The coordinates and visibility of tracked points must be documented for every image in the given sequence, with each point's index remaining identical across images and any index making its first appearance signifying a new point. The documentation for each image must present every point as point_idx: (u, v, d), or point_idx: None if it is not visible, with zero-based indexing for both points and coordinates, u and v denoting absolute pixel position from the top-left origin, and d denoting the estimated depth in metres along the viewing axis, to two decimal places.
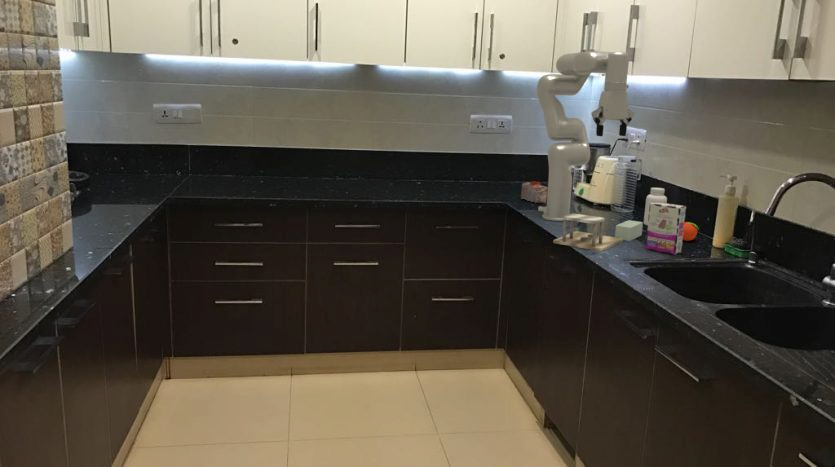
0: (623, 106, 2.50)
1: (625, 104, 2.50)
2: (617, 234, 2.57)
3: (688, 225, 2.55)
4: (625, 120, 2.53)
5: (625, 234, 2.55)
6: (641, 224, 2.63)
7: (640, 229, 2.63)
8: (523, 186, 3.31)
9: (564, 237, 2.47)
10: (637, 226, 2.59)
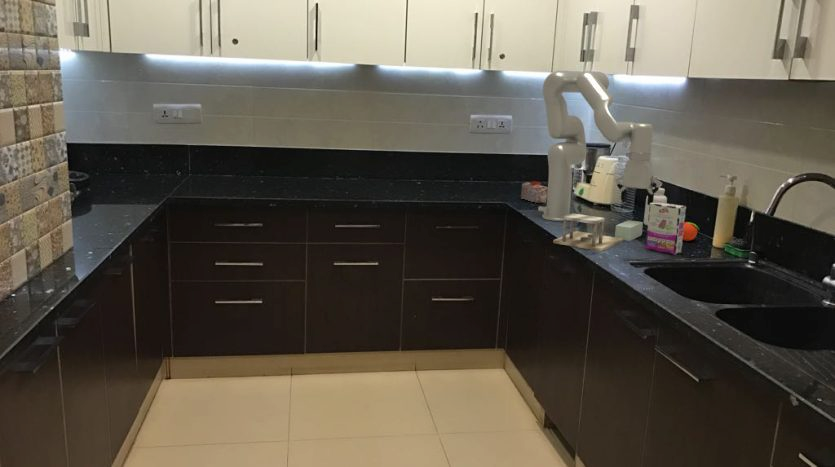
0: None
1: None
2: (617, 234, 2.57)
3: (688, 225, 2.55)
4: None
5: (625, 234, 2.55)
6: (641, 224, 2.63)
7: (640, 229, 2.63)
8: (523, 186, 3.31)
9: (564, 237, 2.47)
10: (637, 226, 2.59)
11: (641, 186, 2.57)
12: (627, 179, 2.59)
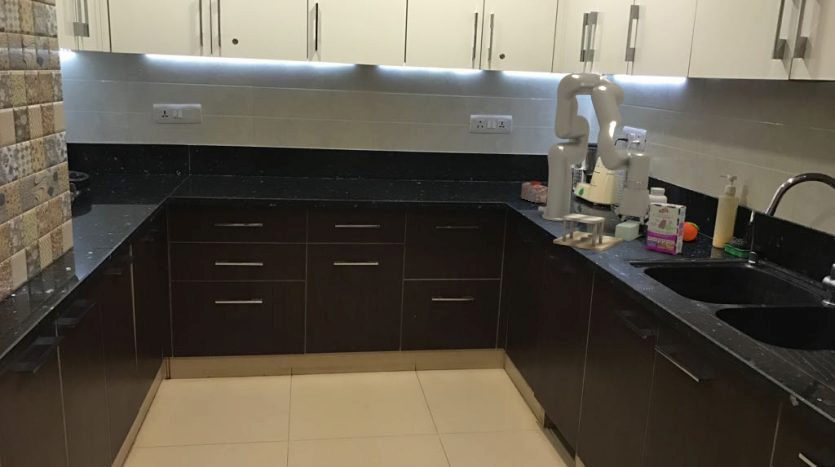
0: None
1: None
2: (617, 234, 2.57)
3: (688, 225, 2.55)
4: None
5: (625, 234, 2.55)
6: None
7: None
8: (523, 186, 3.31)
9: (564, 237, 2.47)
10: (637, 226, 2.59)
11: (637, 214, 2.59)
12: (624, 207, 2.62)
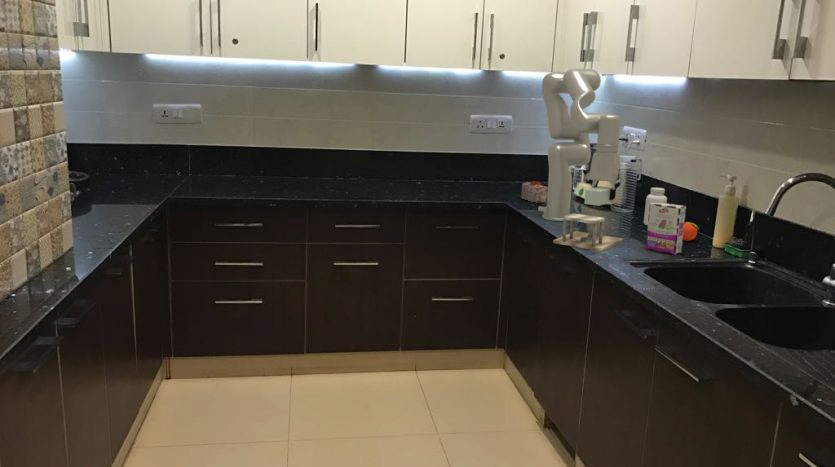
0: None
1: None
2: (587, 199, 2.49)
3: (688, 225, 2.55)
4: None
5: (595, 198, 2.47)
6: None
7: None
8: (523, 186, 3.31)
9: (564, 237, 2.47)
10: (608, 191, 2.51)
11: (608, 179, 2.51)
12: (594, 172, 2.54)
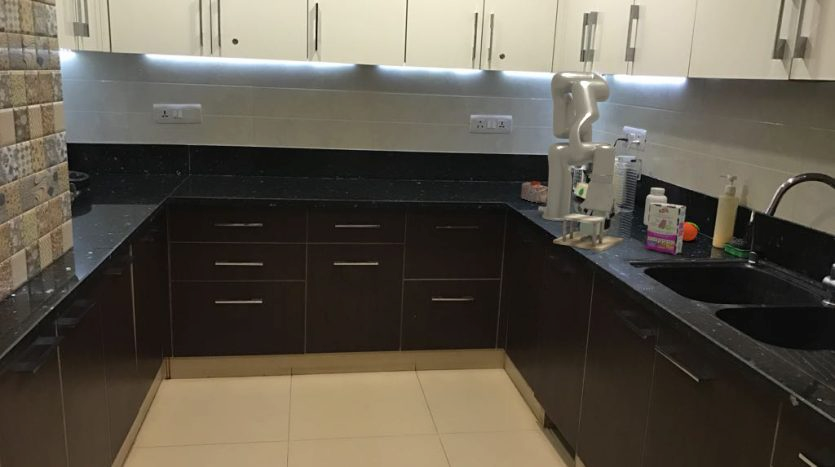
0: None
1: None
2: (582, 229, 2.50)
3: (688, 225, 2.55)
4: None
5: (589, 229, 2.48)
6: None
7: None
8: (523, 186, 3.31)
9: (564, 237, 2.47)
10: None
11: (603, 209, 2.52)
12: (589, 201, 2.55)
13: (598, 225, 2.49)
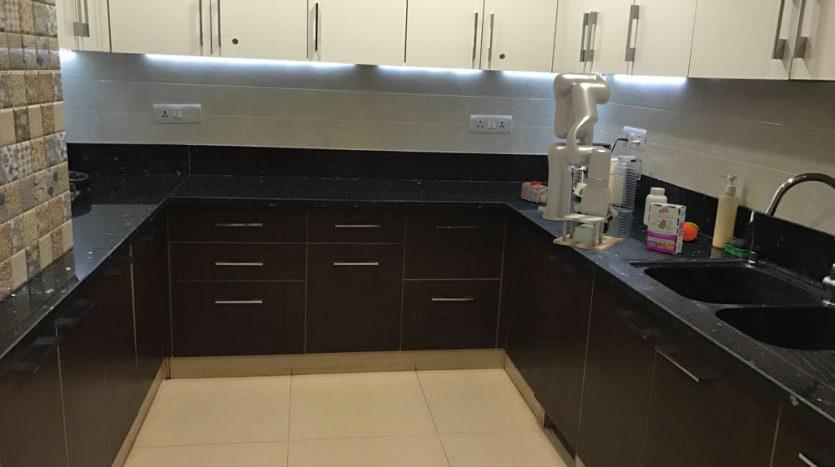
0: None
1: None
2: (577, 236, 2.47)
3: (688, 225, 2.55)
4: None
5: (584, 236, 2.46)
6: None
7: None
8: (523, 186, 3.31)
9: (564, 237, 2.47)
10: (598, 228, 2.50)
11: (598, 213, 2.49)
12: (584, 205, 2.52)
13: None
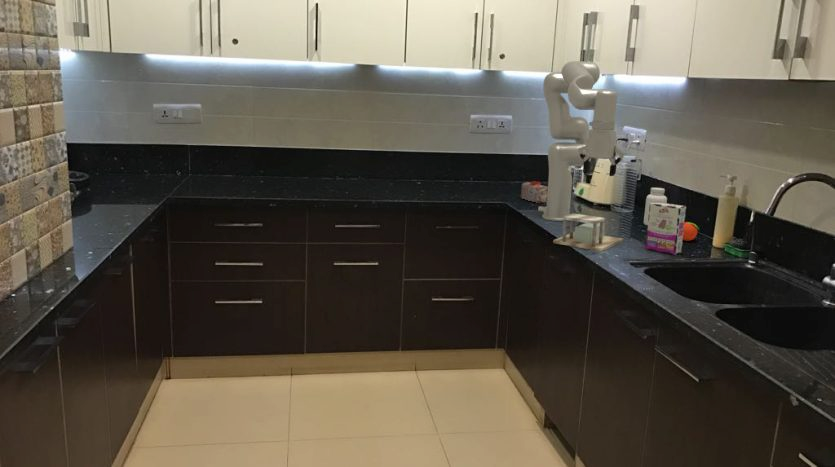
0: None
1: None
2: (577, 236, 2.47)
3: (688, 225, 2.55)
4: None
5: (584, 236, 2.46)
6: None
7: None
8: (523, 186, 3.31)
9: (564, 237, 2.47)
10: (598, 228, 2.50)
11: (603, 156, 2.47)
12: (589, 149, 2.49)
13: None
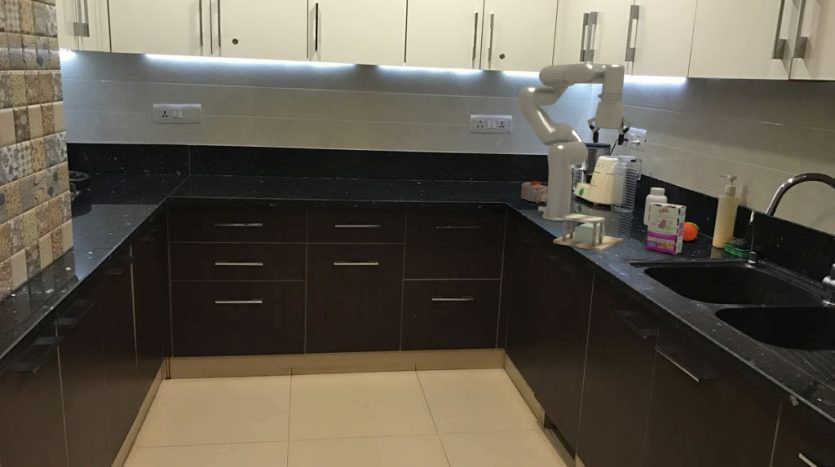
0: None
1: None
2: (577, 236, 2.47)
3: (688, 225, 2.55)
4: None
5: (584, 236, 2.46)
6: None
7: None
8: (523, 186, 3.31)
9: (564, 237, 2.47)
10: (598, 228, 2.50)
11: (612, 126, 2.60)
12: (598, 120, 2.63)
13: None
